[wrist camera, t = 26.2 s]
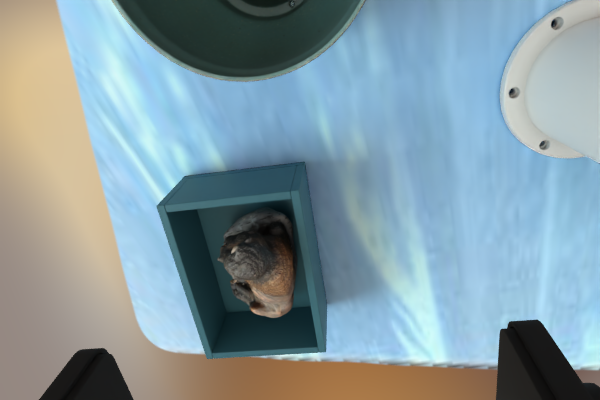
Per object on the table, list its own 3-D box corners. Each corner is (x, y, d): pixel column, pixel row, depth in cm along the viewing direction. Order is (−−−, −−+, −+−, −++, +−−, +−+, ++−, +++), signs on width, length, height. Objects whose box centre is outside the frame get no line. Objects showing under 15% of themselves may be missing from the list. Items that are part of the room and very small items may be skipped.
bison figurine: (305, 295, 42) (298, 370, 33) (241, 297, 43) (217, 371, 34) (294, 192, 37) (281, 248, 28) (222, 196, 38) (187, 252, 29)
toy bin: (304, 161, 37) (299, 190, 31) (327, 305, 44) (326, 352, 38) (184, 176, 38) (156, 206, 32) (223, 312, 45) (206, 359, 39)
